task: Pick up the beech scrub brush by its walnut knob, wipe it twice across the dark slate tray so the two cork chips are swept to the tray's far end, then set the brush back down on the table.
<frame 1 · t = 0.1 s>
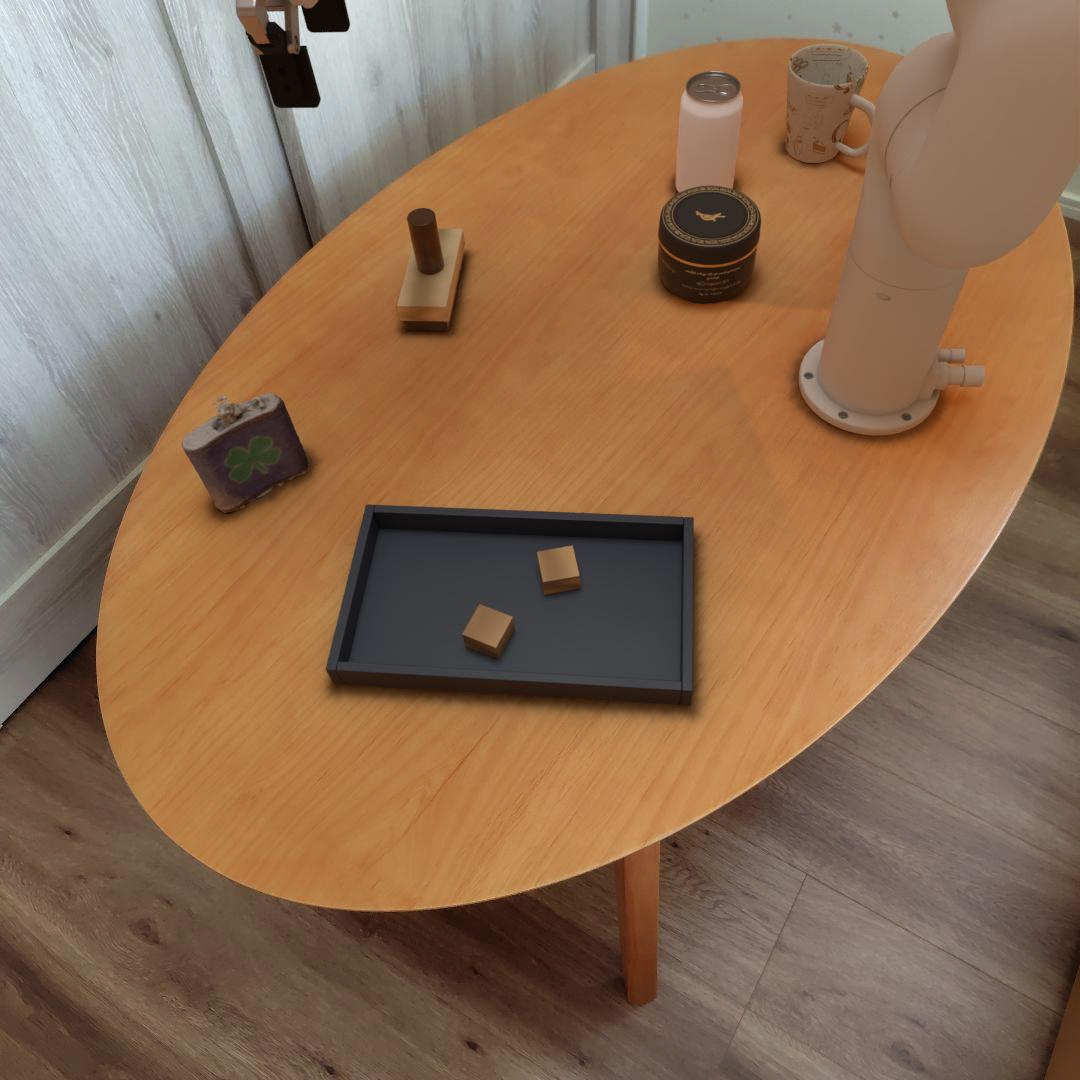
hand: (314, 66, 67), 31 cm above the table, tool pointing down, fingers open, 9 cm apart
mug: (826, 157, 108), on the table
jar: (704, 278, 98), on the table
tray: (520, 611, 77), on the table
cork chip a: (559, 576, 78), point 1 cm above the table, touching tray
brush: (436, 292, 99), on the table
cork chip b: (490, 637, 75), point 1 cm above the table, touching tray
can: (703, 189, 107), on the table
flask: (264, 485, 86), on the table
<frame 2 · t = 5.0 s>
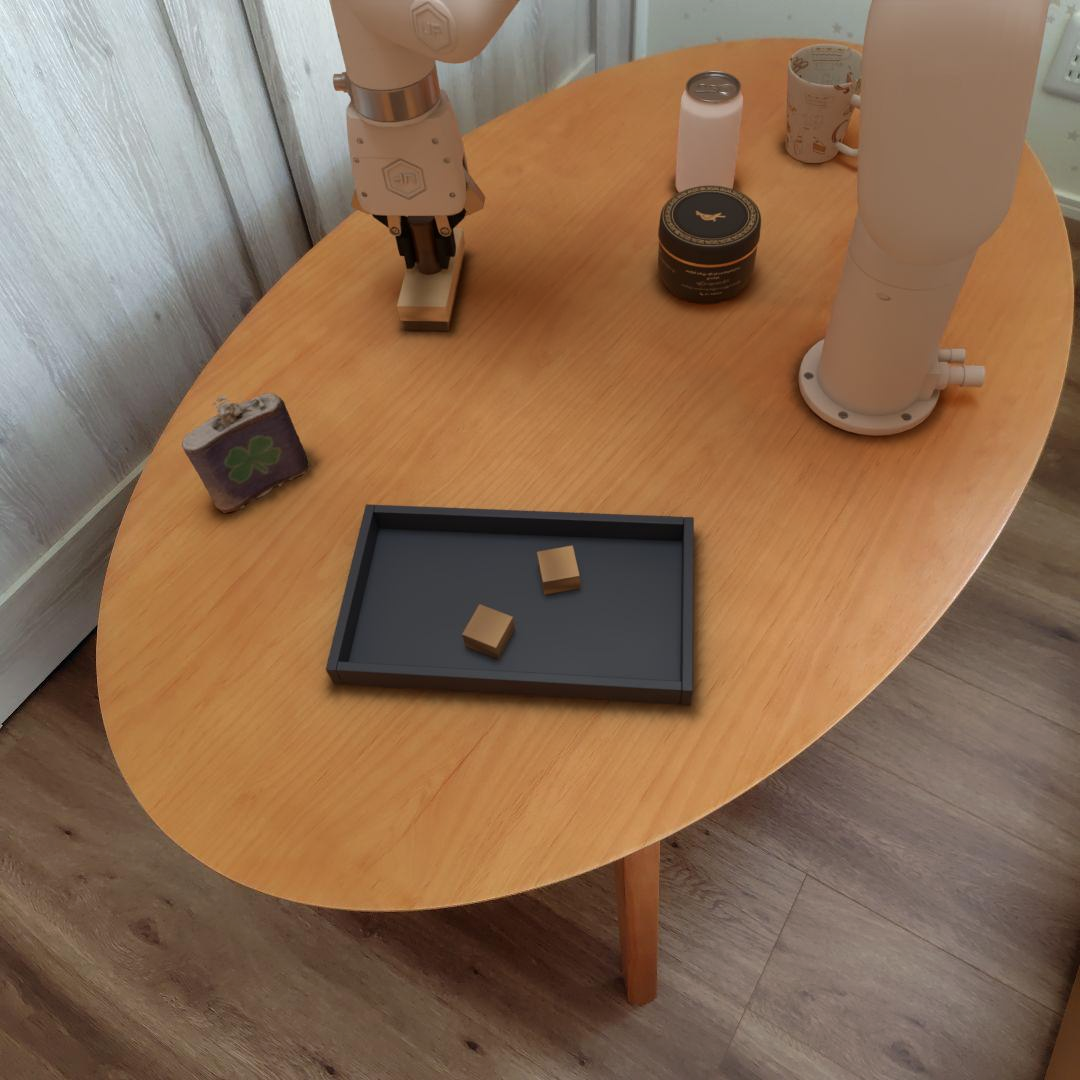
hand: (429, 258, 96), 4 cm above the table, tool pointing down, fingers closed on brush, 2 cm apart
brush: (436, 292, 99), on the table, touching gripper
everything else where it was.
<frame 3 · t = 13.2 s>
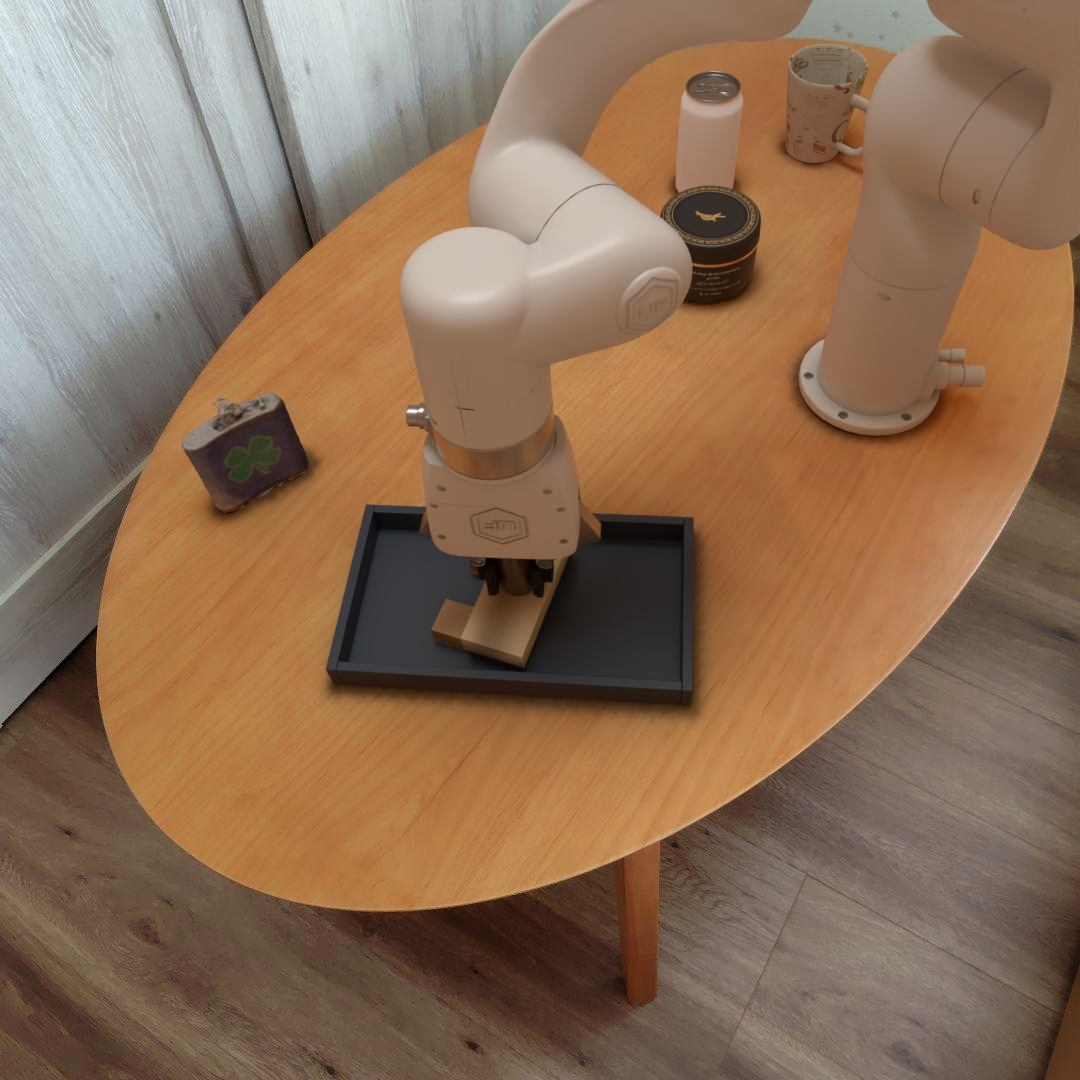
hand: (517, 579, 73), 5 cm above the table, tool pointing down, fingers closed on brush, 2 cm apart
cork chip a: (492, 560, 79), point 1 cm above the table, touching brush, tray
brush: (523, 601, 76), point 1 cm above the table, touching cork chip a, cork chip b, gripper
cork chip b: (459, 631, 75), point 1 cm above the table, touching brush
everything else where it was.
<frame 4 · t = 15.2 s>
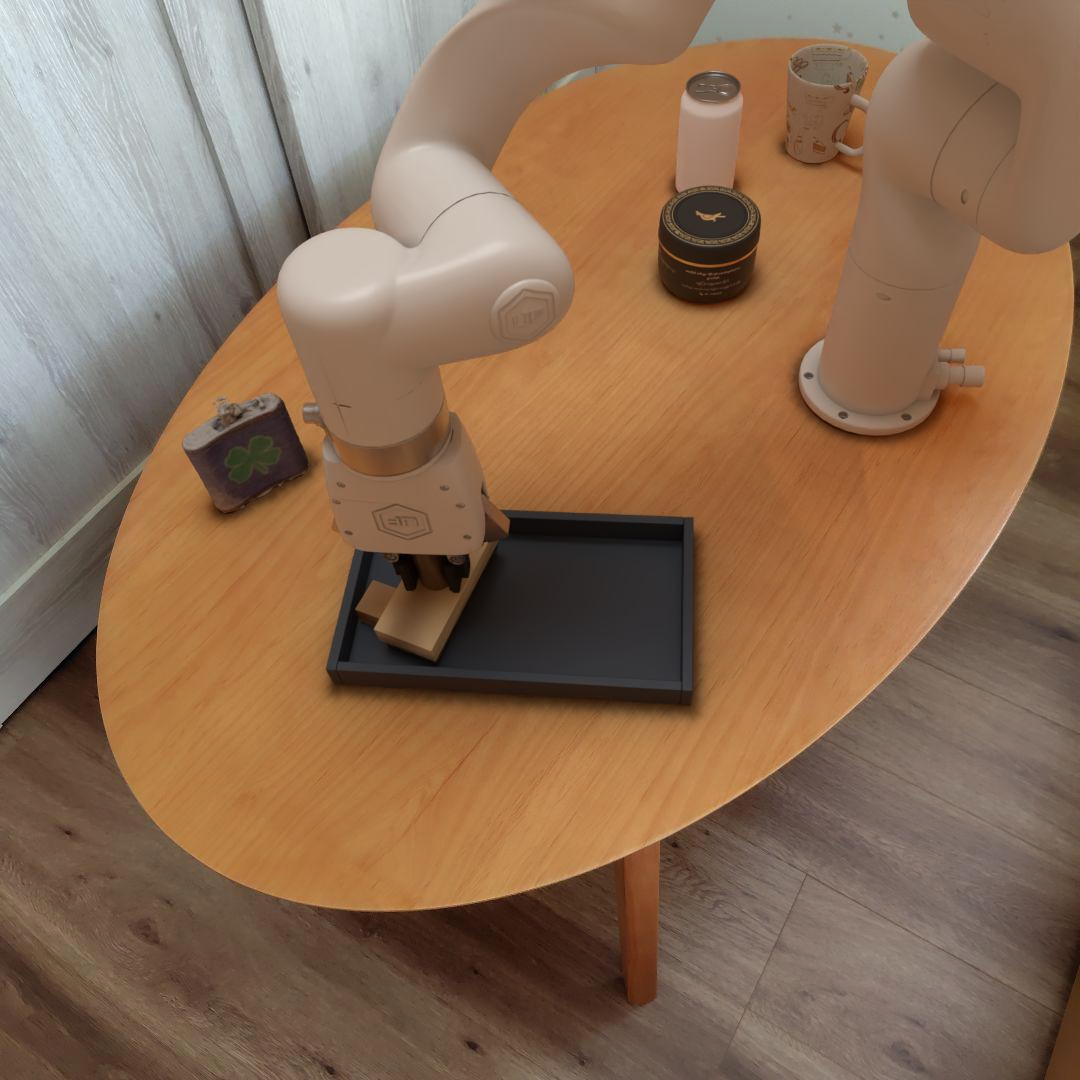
hand: (435, 575, 73), 5 cm above the table, tool pointing down, fingers closed on brush, 2 cm apart
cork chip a: (419, 553, 80), point 1 cm above the table, touching brush, tray
brush: (444, 596, 77), point 1 cm above the table, touching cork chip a, cork chip b, gripper, tray
cork chip b: (385, 612, 77), point 1 cm above the table, touching brush, tray
everything else where it was.
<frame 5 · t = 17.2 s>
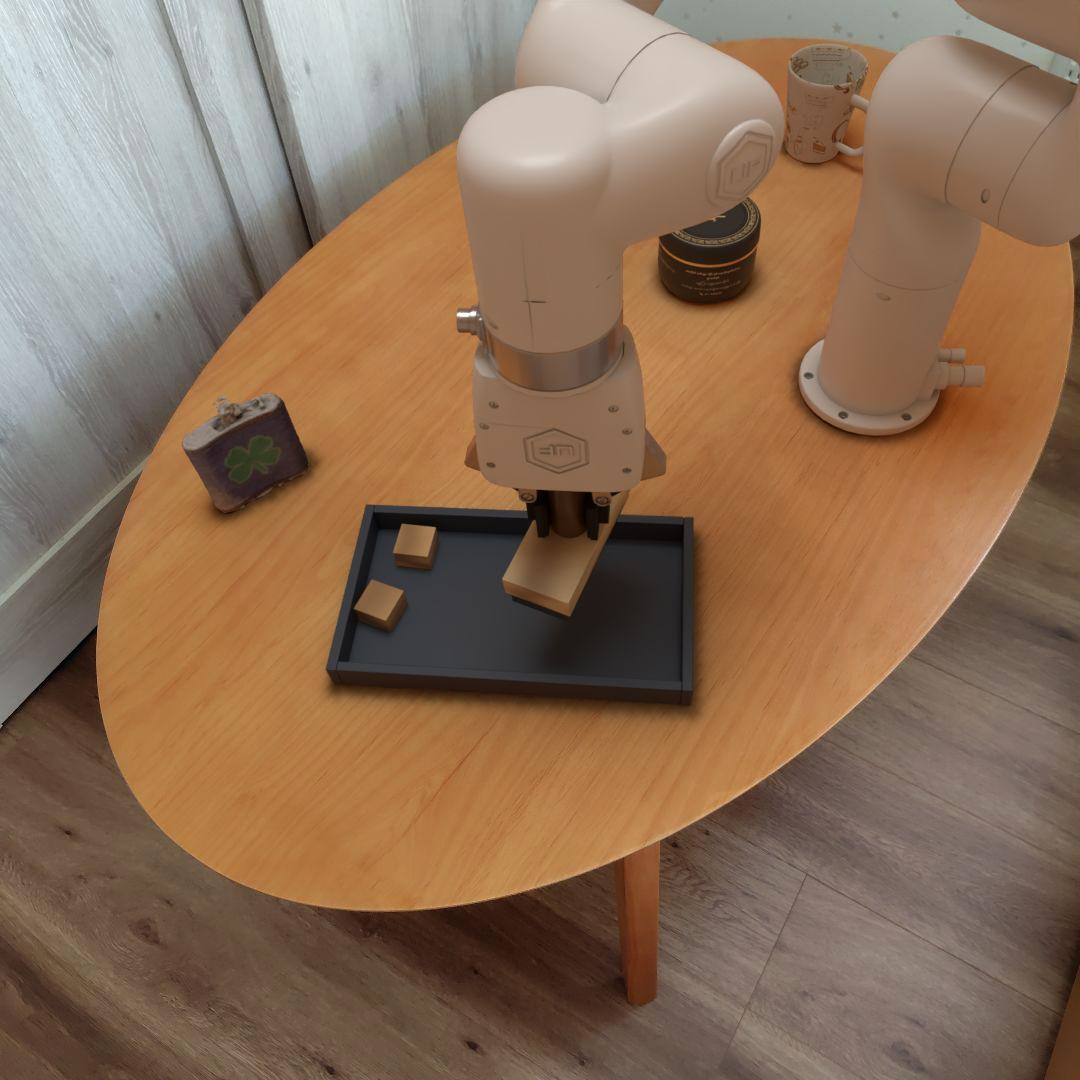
hand: (569, 520, 66), 13 cm above the table, tool pointing down, fingers closed on brush, 2 cm apart
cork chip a: (418, 553, 80), point 1 cm above the table, touching tray
brush: (572, 546, 70), point 9 cm above the table, touching gripper
cork chip b: (383, 612, 77), point 1 cm above the table, touching tray
everything else where it was.
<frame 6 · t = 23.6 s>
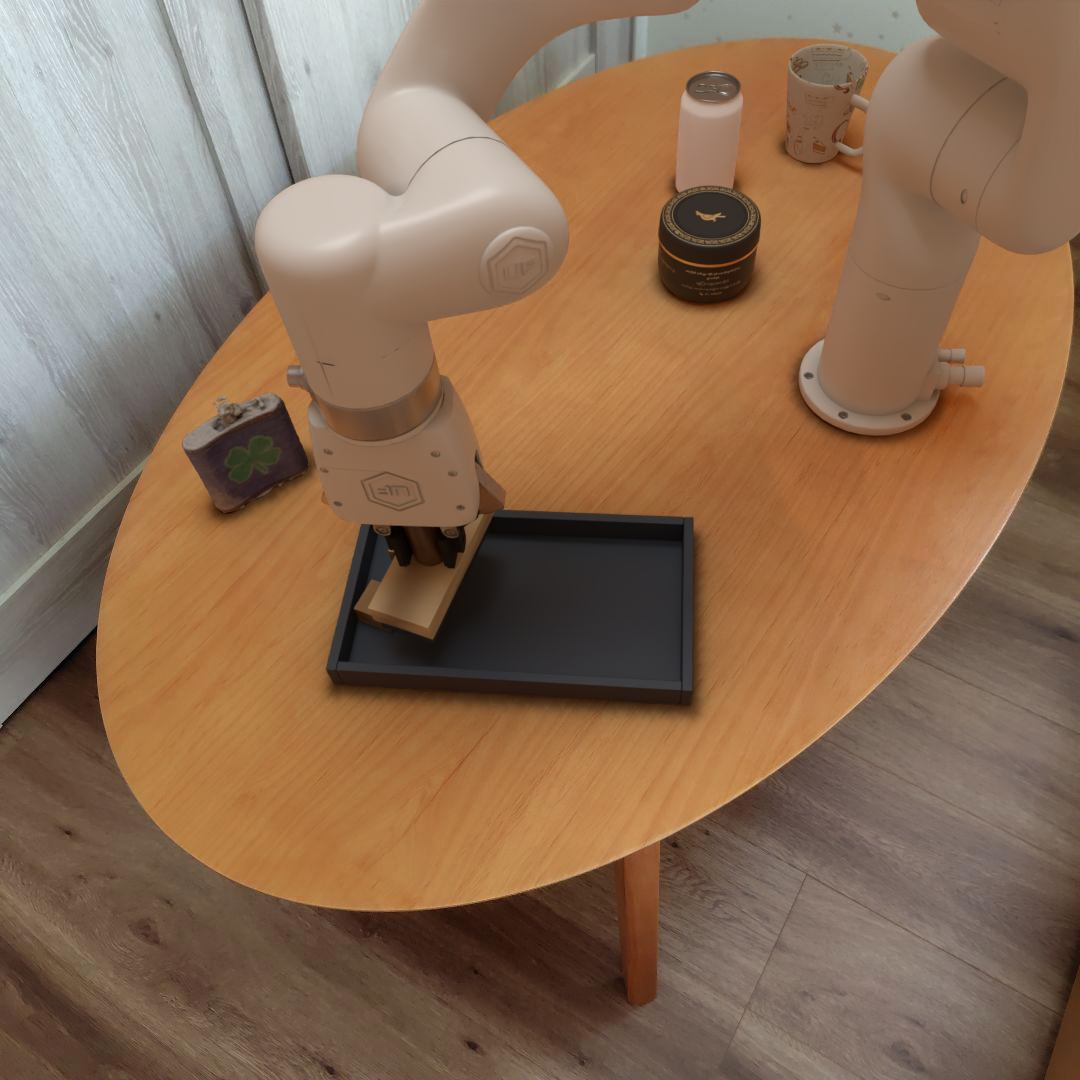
hand: (430, 550, 71), 8 cm above the table, tool pointing down, fingers closed on brush, 2 cm apart
brush: (439, 573, 74), point 4 cm above the table, touching gripper
when the fingers open (4 cm above the table, at t = 29.9 s): brush stays where it is, on the table.
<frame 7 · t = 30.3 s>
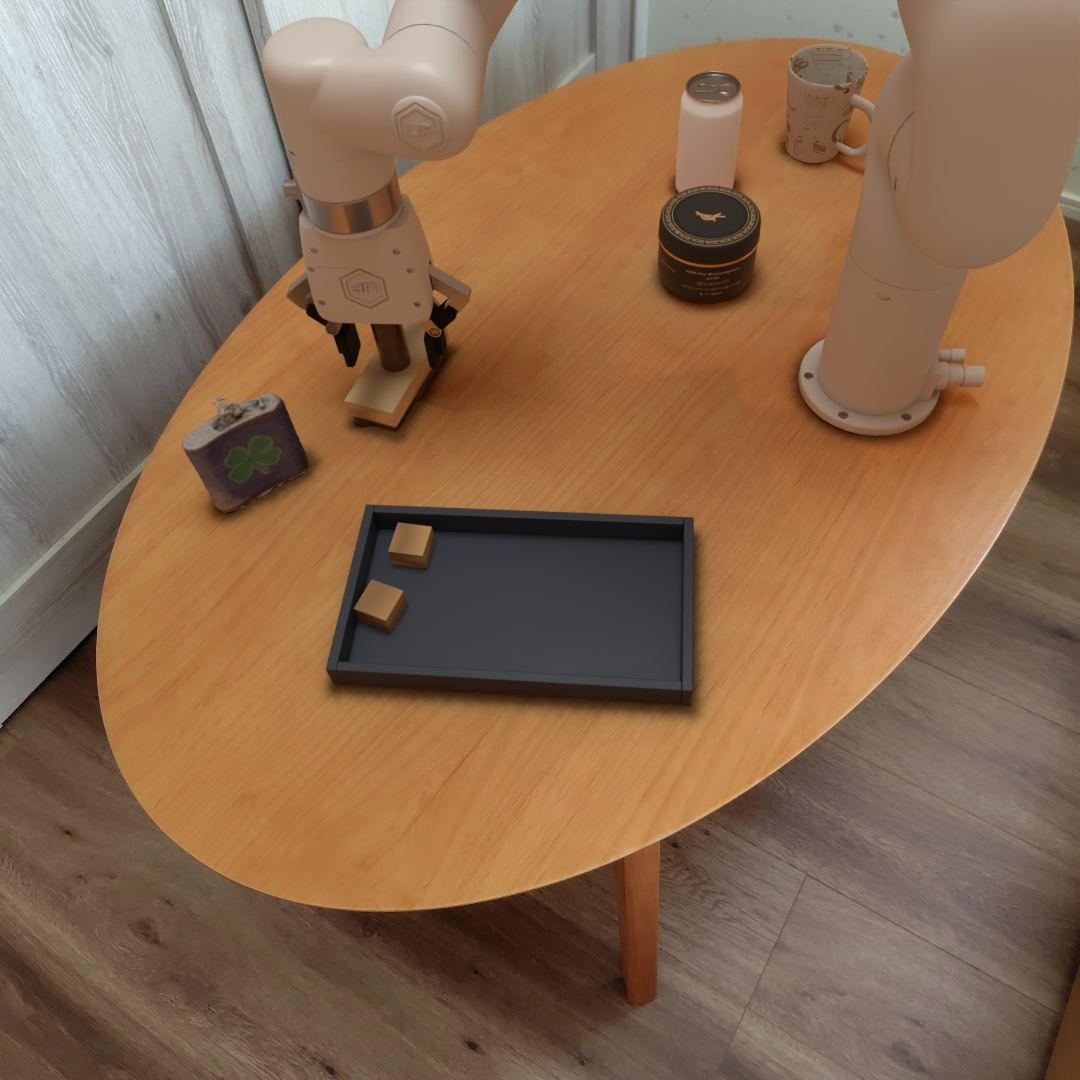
hand: (395, 356, 88), 5 cm above the table, tool pointing down, fingers open, 7 cm apart
brush: (403, 387, 92), on the table
everything else where it was.
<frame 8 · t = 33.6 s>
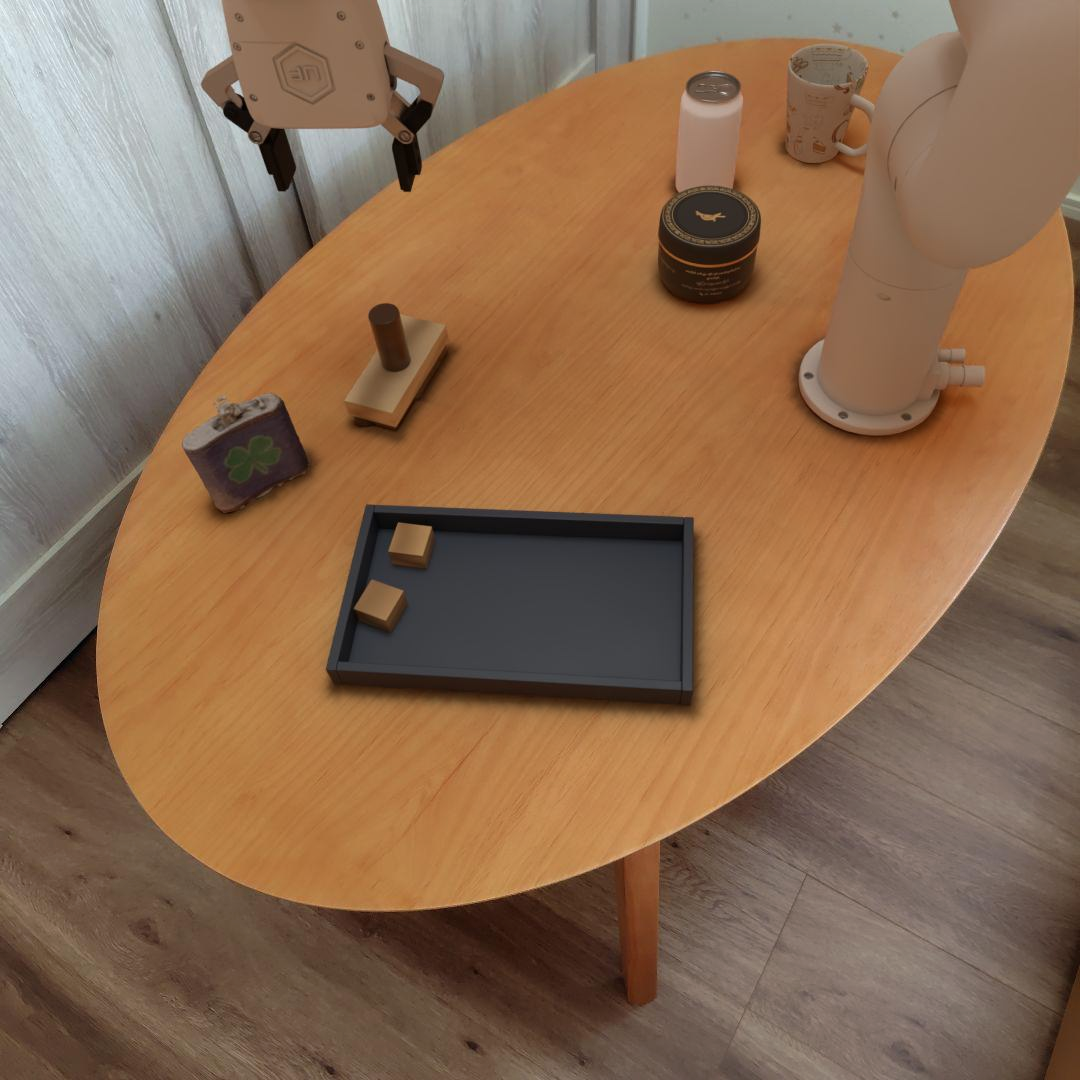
hand: (348, 180, 73), 23 cm above the table, tool pointing down, fingers open, 9 cm apart
nothing on the table moved.
at the end: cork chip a inside the target area in the tray (4.9 cm from its centre), point 0.8 cm above the tray's base; cork chip b inside the target area in the tray (1.4 cm from its centre), point 0.8 cm above the tray's base; the gripper is holding nothing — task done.
